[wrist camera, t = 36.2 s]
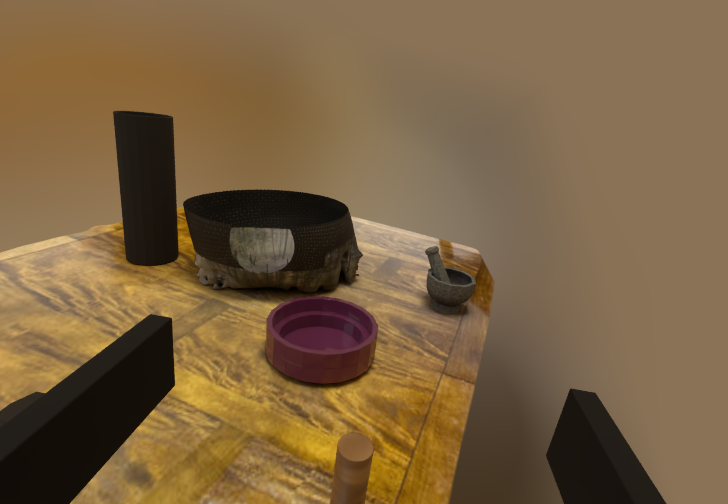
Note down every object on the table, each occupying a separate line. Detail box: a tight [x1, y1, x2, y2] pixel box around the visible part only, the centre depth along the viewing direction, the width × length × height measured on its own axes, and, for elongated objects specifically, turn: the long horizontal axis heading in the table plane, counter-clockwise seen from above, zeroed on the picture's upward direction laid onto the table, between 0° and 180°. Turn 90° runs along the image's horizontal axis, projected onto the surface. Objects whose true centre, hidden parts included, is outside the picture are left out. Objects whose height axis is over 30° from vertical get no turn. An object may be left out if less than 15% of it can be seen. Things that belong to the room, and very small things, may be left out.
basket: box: [183, 190, 363, 292], centre depth 84 cm, size 28×35×16 cm
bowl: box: [265, 297, 378, 384], centre depth 62 cm, size 17×17×6 cm
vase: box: [113, 111, 178, 266], centre depth 83 cm, size 10×10×30 cm
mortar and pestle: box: [425, 246, 476, 314], centre depth 81 cm, size 11×9×12 cm
